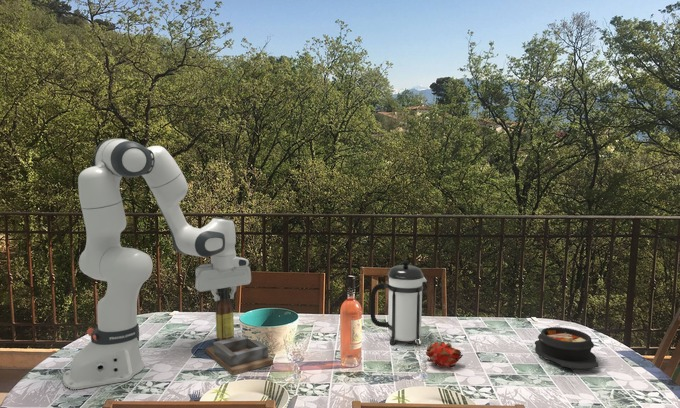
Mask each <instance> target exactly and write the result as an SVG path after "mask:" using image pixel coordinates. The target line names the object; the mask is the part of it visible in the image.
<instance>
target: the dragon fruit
mask: <svg viewBox="0 0 680 408" xmlns="http://www.w3.org/2000/svg"><path fill="white" fill-rule="evenodd" d="M425 355H426V356H427V357H428V358H427V361H428V363H434V366H436V367H437V366H438V367H439V368H440V369H444V367H448V368H450V369H452V368H455V367H456V364H457V363H458V362H459V361H460V360H461V358H462V357H463V356H464V354H463V353H462V352H461V350H460V349H457V348H454V347H452V343H450V342H448V343H445V341H440V342H437V341H433V343H431V344H429V346H427V347H426V351H425Z"/></svg>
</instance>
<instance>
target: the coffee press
mask: <svg viewBox="0 0 680 408" xmlns="http://www.w3.org/2000/svg"><path fill="white" fill-rule="evenodd" d="M387 276H388V282H387V283H383V282H382V283H378V284H376V285H375V286H373V287H372V289H371V292H370V312H369V313H370V319H371V322H372V324H374V325H375V326H377V327H378V328H379V327H380V328H387V331H388V333H387V334H388V336H389V337H390V339H389V345H391V346H395V345H396V343H397V341H398V342H399V341H401V342H414V343H415V340H416V339H419V338H421V335H422V314H423V312H422V309H423V308H422V307H423V306H422V305H423V304H422V303H423V301H422V300H423V289H424V286H423V285H424V284H423V283H427V282H428V280H427V279H426V278H425V276H424V273H423V272H422V269H421V268H419V267H418V266H416V265H415V266H414V265H411V264H410V262H409V260H408V259H403V260H402V264H399V265H395V266H392V267H391V268H390V269H389V271H388V272H387ZM382 289H388V306H387V307H388V311H387V313H388V314H387V315H388V319H387V320H388V321H379V320H378V319H377V317H376V294H377V292H378V291H379V290H382Z"/></svg>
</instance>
